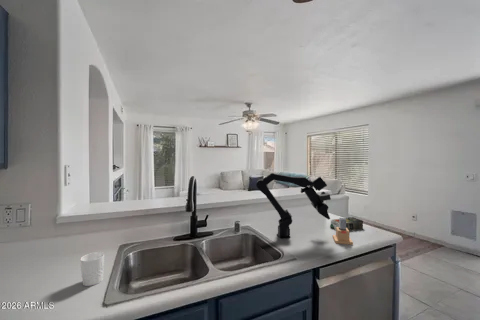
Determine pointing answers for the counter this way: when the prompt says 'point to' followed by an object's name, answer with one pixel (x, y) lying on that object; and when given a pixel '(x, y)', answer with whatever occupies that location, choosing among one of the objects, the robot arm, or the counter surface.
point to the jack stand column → (342, 224)
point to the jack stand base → (342, 237)
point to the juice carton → (348, 223)
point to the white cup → (92, 268)
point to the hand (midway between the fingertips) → (327, 216)
